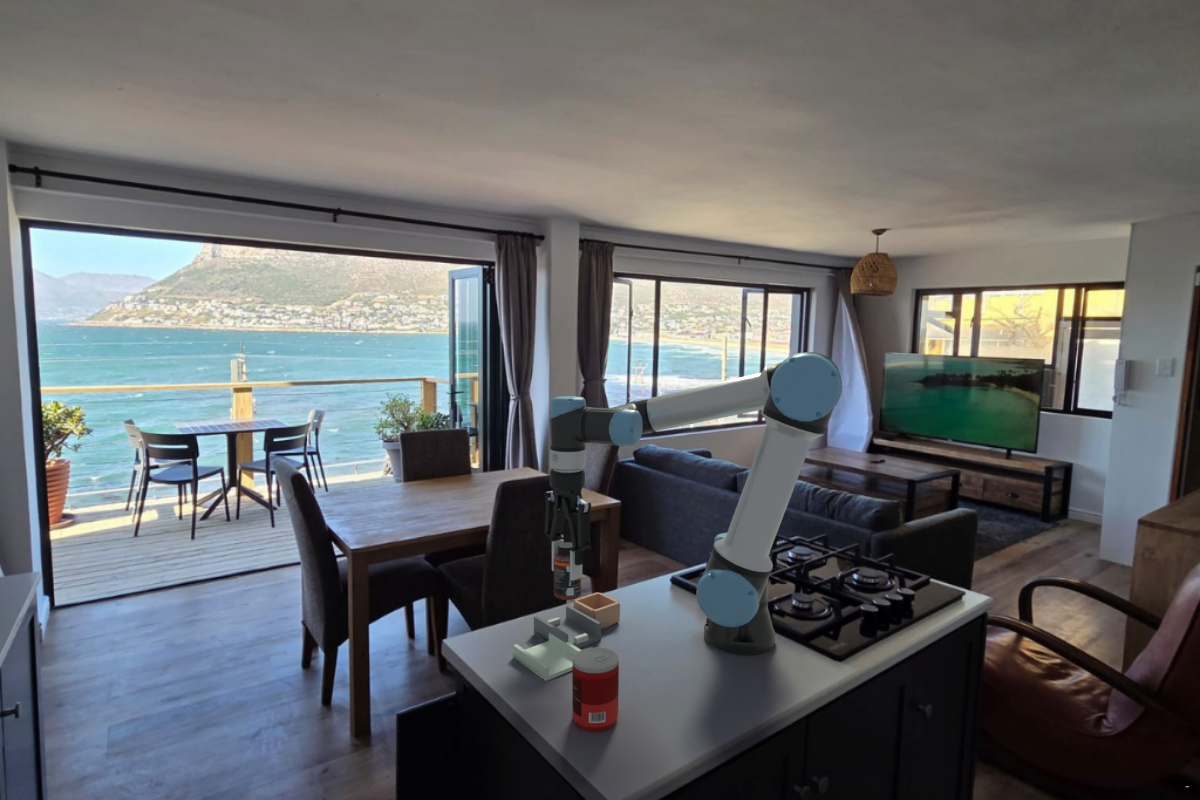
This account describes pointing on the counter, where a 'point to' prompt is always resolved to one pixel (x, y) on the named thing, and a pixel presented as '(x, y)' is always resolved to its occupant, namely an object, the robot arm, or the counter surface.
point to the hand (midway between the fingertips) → (566, 573)
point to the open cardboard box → (599, 608)
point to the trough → (547, 657)
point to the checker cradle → (570, 628)
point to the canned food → (595, 688)
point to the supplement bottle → (565, 575)
